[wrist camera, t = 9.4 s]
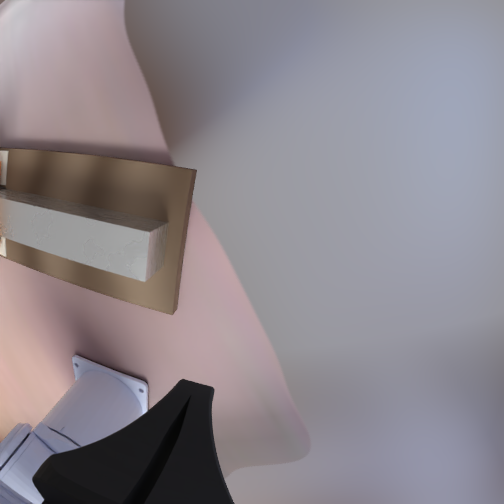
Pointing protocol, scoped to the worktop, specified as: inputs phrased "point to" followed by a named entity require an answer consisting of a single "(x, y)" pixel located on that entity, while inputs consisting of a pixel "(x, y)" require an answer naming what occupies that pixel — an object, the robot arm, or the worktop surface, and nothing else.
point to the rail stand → (97, 222)
